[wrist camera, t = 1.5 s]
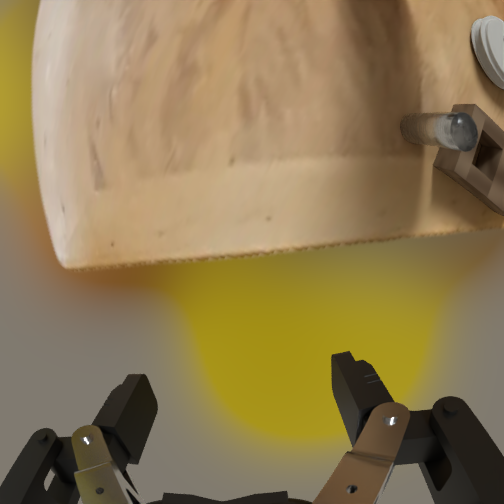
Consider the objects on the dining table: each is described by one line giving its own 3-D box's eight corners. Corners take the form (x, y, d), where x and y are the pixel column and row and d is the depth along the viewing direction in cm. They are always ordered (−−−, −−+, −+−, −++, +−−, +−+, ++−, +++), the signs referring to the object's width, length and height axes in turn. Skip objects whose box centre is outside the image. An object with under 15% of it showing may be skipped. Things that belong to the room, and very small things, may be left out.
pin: (406, 108, 30) (456, 104, 20) (428, 123, 30) (481, 126, 20) (396, 134, 31) (446, 138, 21) (419, 148, 32) (471, 158, 22)
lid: (523, 87, 26) (542, 87, 21) (486, 94, 28) (507, 94, 23) (498, 21, 21) (515, 16, 17) (455, 19, 23) (474, 12, 19)
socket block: (453, 104, 29) (475, 104, 24) (512, 159, 31) (532, 164, 26) (433, 165, 33) (454, 171, 28) (494, 211, 35) (513, 221, 30)
